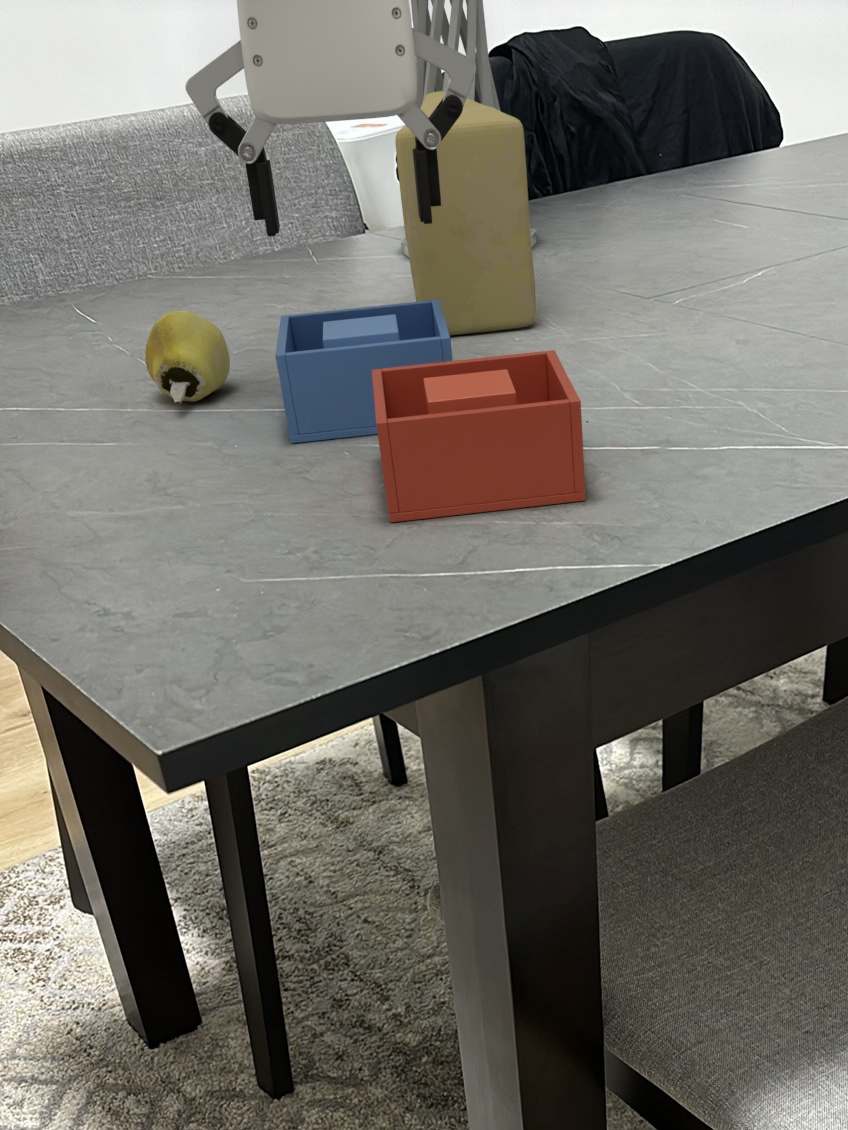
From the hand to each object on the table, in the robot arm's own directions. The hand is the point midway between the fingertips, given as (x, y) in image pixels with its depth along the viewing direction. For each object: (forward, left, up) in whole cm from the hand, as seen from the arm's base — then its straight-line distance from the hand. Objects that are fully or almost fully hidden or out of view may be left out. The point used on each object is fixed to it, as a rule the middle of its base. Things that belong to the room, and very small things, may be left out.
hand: (349, 226), depth 88 cm
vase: (+11, +56, -12) cm, 58 cm away
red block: (+6, -15, -11) cm, 20 cm away
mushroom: (-13, +10, -12) cm, 20 cm away
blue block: (0, +2, -11) cm, 11 cm away
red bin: (+6, -15, -12) cm, 20 cm away
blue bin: (0, +2, -12) cm, 12 cm away
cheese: (+9, +31, -12) cm, 34 cm away
